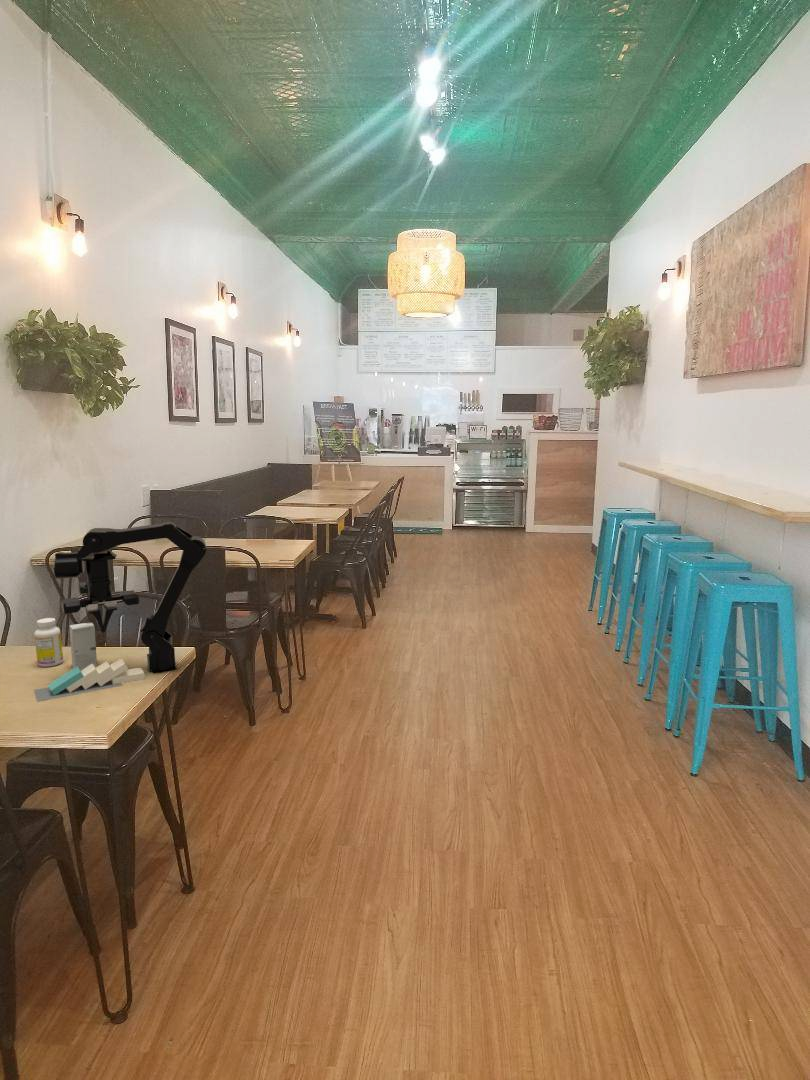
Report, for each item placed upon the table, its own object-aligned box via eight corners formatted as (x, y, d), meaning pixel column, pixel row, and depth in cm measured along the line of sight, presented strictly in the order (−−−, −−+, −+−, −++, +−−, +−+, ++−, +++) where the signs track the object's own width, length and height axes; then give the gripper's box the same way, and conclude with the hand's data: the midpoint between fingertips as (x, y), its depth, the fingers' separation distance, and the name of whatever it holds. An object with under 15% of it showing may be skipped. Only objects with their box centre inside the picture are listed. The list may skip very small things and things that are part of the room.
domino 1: (67, 686, 187) (95, 668, 190) (69, 692, 183) (98, 673, 186) (63, 681, 186) (92, 663, 189) (66, 687, 182) (95, 669, 185)
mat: (116, 676, 195) (116, 674, 195) (122, 686, 188) (122, 685, 187) (33, 691, 185) (33, 689, 185) (37, 703, 177) (37, 701, 177)
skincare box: (74, 671, 199) (70, 629, 197) (71, 666, 203) (68, 625, 200) (98, 666, 202) (95, 625, 200) (95, 662, 206) (91, 621, 204)
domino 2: (82, 683, 189) (110, 665, 192) (85, 689, 185) (113, 671, 188) (78, 678, 188) (106, 660, 191) (81, 685, 184) (110, 666, 187)
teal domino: (51, 689, 185) (80, 670, 188) (54, 695, 181) (83, 676, 184) (48, 684, 184) (77, 665, 187) (50, 690, 180) (80, 671, 183)
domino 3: (97, 680, 191) (124, 662, 194) (100, 686, 186) (128, 668, 190) (93, 676, 190) (121, 658, 193) (97, 682, 186) (125, 663, 189)
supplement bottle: (54, 658, 209) (50, 615, 207) (68, 662, 206) (64, 618, 204) (32, 665, 204) (28, 621, 201) (46, 669, 200) (42, 624, 198)
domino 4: (109, 678, 192) (140, 672, 196) (112, 684, 188) (144, 678, 192) (109, 672, 192) (140, 667, 196) (112, 678, 188) (144, 673, 192)
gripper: (129, 566, 203) (133, 619, 206) (56, 574, 193) (61, 630, 196) (137, 574, 193) (141, 629, 196) (61, 582, 184) (66, 641, 187)
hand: (103, 632), depth 194 cm, fingers closed
